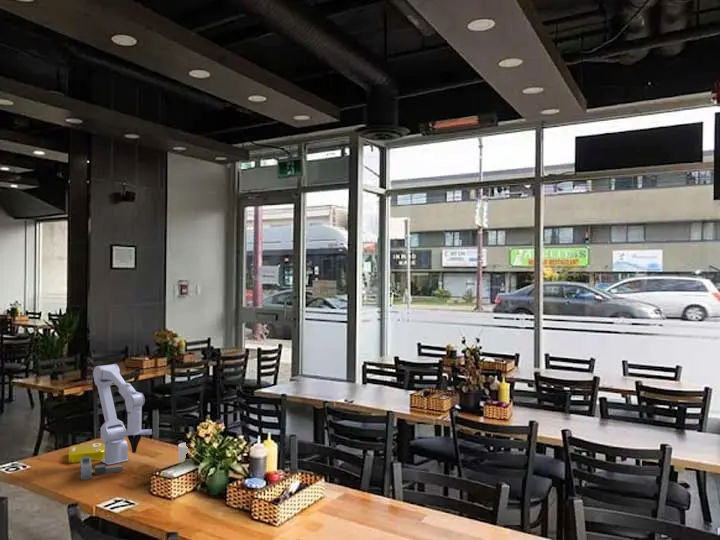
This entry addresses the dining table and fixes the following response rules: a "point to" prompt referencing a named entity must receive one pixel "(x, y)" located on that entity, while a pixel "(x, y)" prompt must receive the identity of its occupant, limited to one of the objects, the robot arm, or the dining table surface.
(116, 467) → the plug
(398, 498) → the dining table surface
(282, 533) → the dining table surface
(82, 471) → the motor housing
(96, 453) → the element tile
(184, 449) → the white cup
